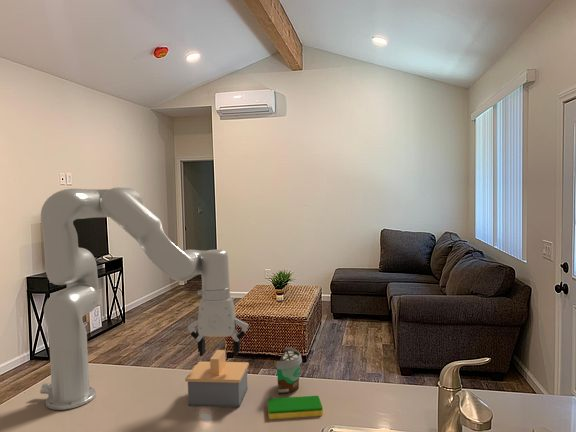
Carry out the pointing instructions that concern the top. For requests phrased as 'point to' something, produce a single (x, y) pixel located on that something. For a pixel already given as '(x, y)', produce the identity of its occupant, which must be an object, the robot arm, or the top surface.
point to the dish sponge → (294, 407)
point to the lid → (218, 370)
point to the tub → (217, 393)
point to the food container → (288, 371)
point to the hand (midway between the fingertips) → (219, 354)
